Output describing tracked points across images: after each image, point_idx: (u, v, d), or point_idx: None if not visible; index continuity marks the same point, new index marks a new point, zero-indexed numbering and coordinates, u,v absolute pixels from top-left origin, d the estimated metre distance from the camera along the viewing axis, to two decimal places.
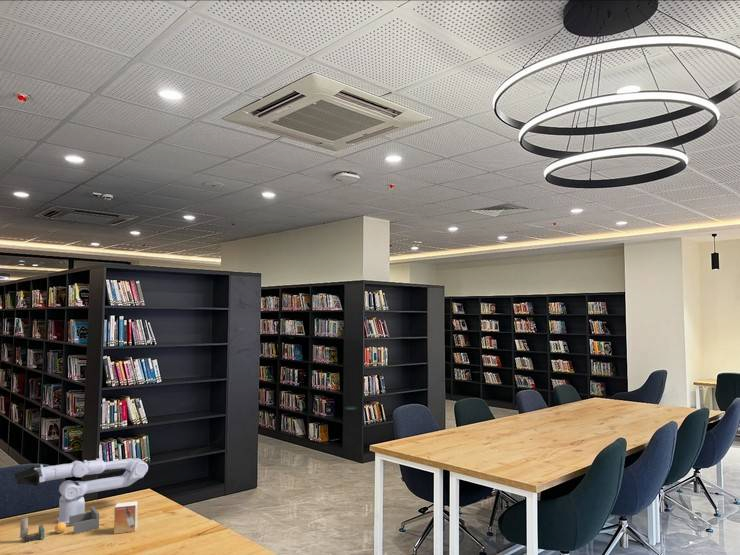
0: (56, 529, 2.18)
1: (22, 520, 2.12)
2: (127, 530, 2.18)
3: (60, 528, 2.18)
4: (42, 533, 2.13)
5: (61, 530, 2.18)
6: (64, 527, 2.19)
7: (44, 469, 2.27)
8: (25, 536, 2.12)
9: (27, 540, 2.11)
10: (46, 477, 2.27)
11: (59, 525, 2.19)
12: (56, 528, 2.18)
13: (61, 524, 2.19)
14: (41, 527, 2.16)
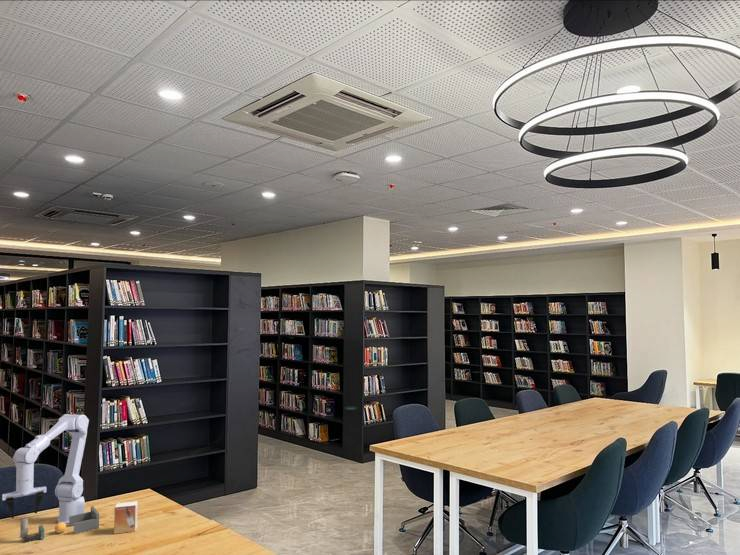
0: (56, 529, 2.18)
1: (22, 520, 2.12)
2: (127, 530, 2.18)
3: (60, 528, 2.18)
4: (42, 533, 2.13)
5: (61, 530, 2.18)
6: (64, 527, 2.19)
7: (30, 489, 2.12)
8: (25, 536, 2.12)
9: (27, 540, 2.11)
10: None
11: (59, 525, 2.19)
12: (56, 528, 2.18)
13: (61, 524, 2.19)
14: (41, 527, 2.16)
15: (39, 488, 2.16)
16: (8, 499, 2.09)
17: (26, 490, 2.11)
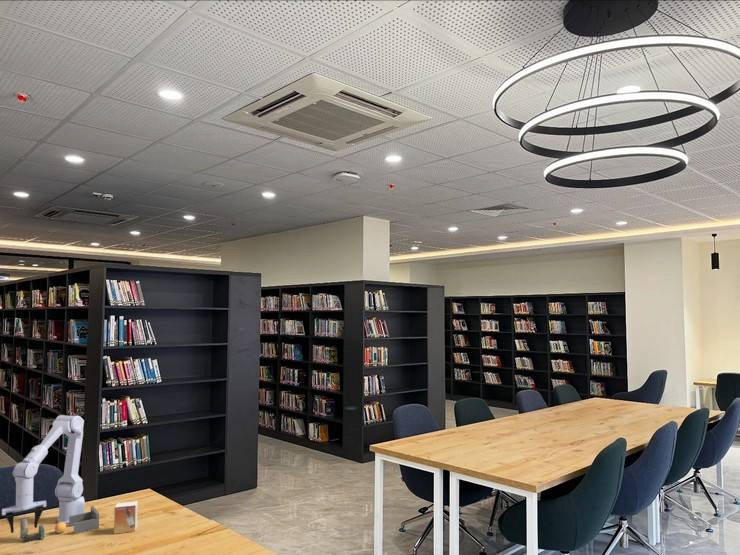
0: (56, 529, 2.18)
1: (22, 520, 2.12)
2: (127, 530, 2.18)
3: (60, 528, 2.18)
4: (42, 533, 2.13)
5: (61, 530, 2.18)
6: (64, 527, 2.19)
7: (29, 504, 2.12)
8: (25, 536, 2.12)
9: (27, 540, 2.11)
10: None
11: (59, 525, 2.19)
12: (56, 528, 2.18)
13: (61, 524, 2.19)
14: (41, 527, 2.16)
15: (39, 502, 2.16)
16: (8, 514, 2.09)
17: (26, 505, 2.11)
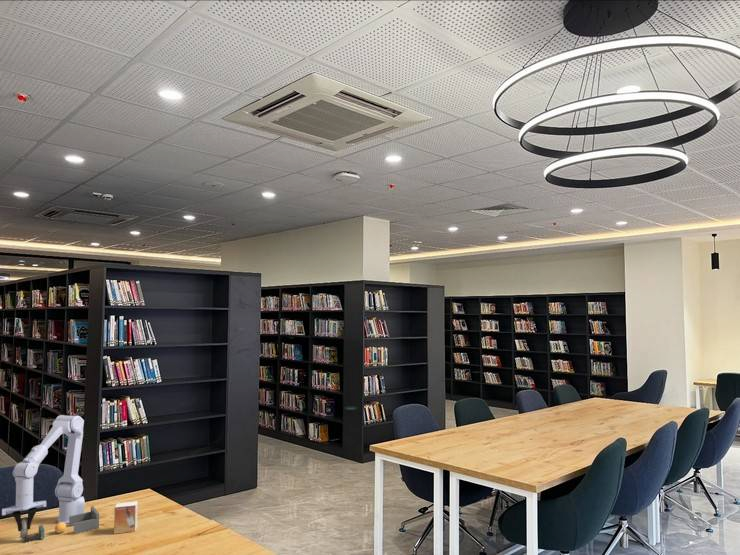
0: (56, 529, 2.18)
1: (22, 520, 2.12)
2: (127, 530, 2.18)
3: (60, 528, 2.18)
4: (42, 533, 2.13)
5: (61, 530, 2.18)
6: (64, 527, 2.19)
7: (29, 504, 2.12)
8: (25, 536, 2.12)
9: (27, 540, 2.11)
10: None
11: (59, 525, 2.19)
12: (56, 528, 2.18)
13: (61, 524, 2.19)
14: (41, 527, 2.16)
15: (39, 502, 2.16)
16: None
17: (26, 505, 2.11)
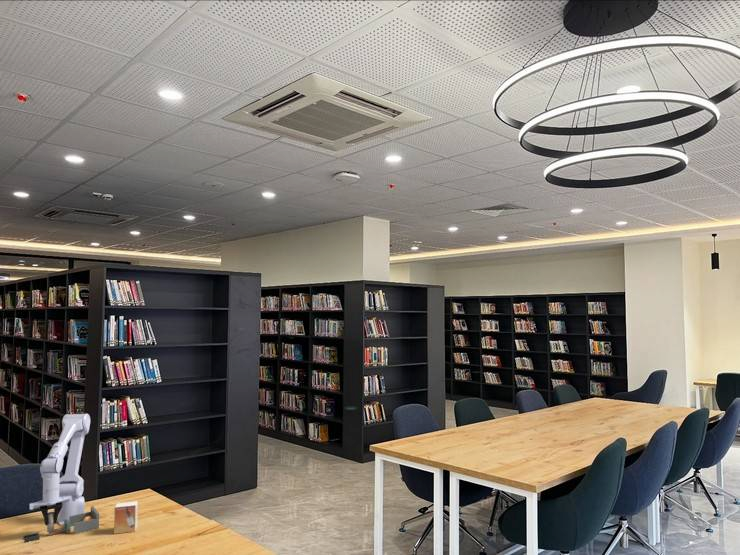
0: None
1: (49, 514, 2.17)
2: (127, 530, 2.18)
3: None
4: (68, 527, 2.19)
5: None
6: (88, 519, 2.25)
7: (56, 499, 2.18)
8: (52, 530, 2.17)
9: (27, 540, 2.11)
10: None
11: None
12: None
13: None
14: (67, 521, 2.22)
15: (65, 497, 2.21)
16: None
17: (52, 499, 2.17)
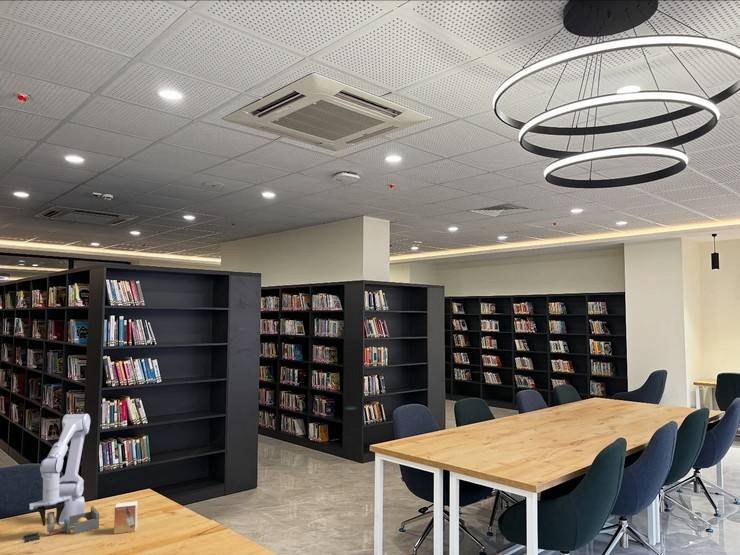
0: None
1: (49, 514, 2.17)
2: (127, 530, 2.18)
3: None
4: (68, 527, 2.19)
5: None
6: None
7: (56, 499, 2.18)
8: (52, 530, 2.17)
9: (27, 540, 2.11)
10: None
11: None
12: None
13: None
14: (67, 521, 2.22)
15: (65, 497, 2.21)
16: None
17: (52, 499, 2.16)
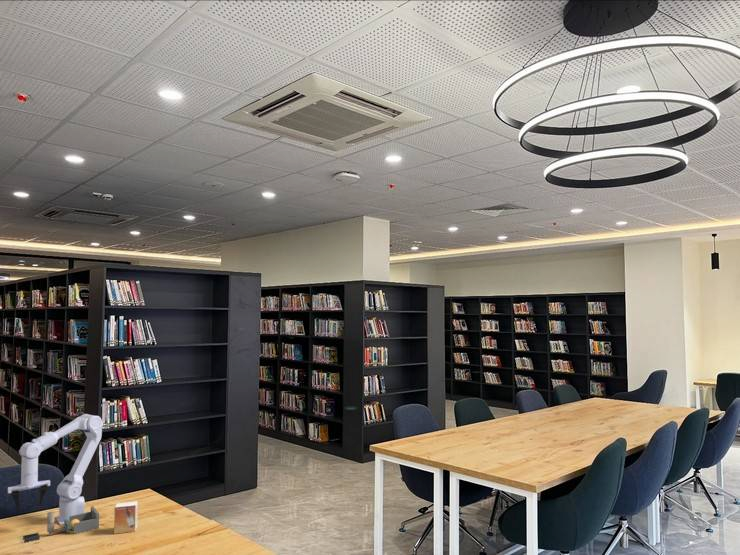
0: (78, 521, 2.23)
1: (49, 514, 2.17)
2: (127, 530, 2.18)
3: None
4: (68, 527, 2.19)
5: None
6: (73, 528, 2.21)
7: (34, 483, 2.21)
8: (52, 530, 2.17)
9: (27, 540, 2.11)
10: None
11: None
12: None
13: None
14: (67, 521, 2.22)
15: (43, 481, 2.25)
16: (13, 492, 2.17)
17: (31, 483, 2.20)
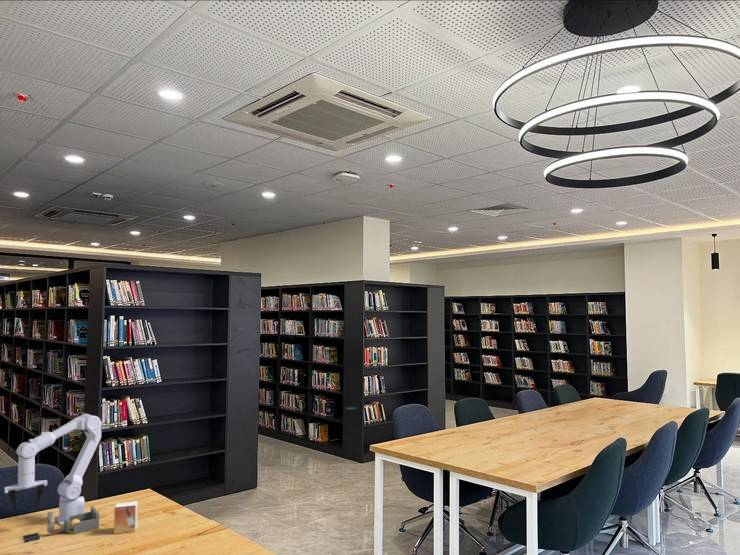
0: (79, 521, 2.23)
1: (49, 514, 2.17)
2: (127, 530, 2.18)
3: None
4: (68, 527, 2.19)
5: None
6: (73, 528, 2.21)
7: (31, 483, 2.21)
8: (52, 530, 2.17)
9: (27, 540, 2.11)
10: None
11: None
12: None
13: None
14: (67, 521, 2.22)
15: (40, 481, 2.25)
16: (10, 492, 2.18)
17: (27, 483, 2.20)
